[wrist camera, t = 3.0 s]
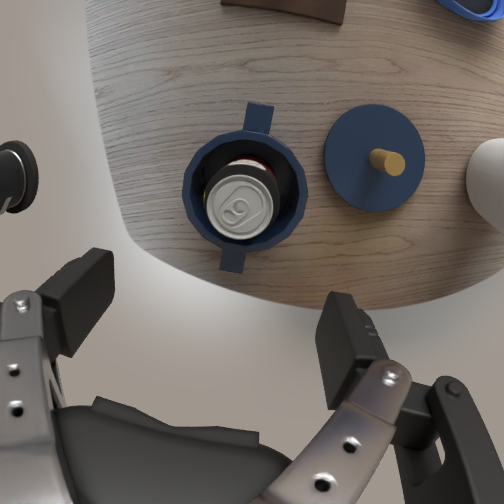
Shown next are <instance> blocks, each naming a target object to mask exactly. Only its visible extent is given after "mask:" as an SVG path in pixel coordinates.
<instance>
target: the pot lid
mask: <svg viewBox="0 0 504 504" xmlns="http://www.w3.org/2000/svg"><path fill="white" fill-rule="evenodd" d="M424 165H425V153H424V147H423V143H422V140H421V138H420V135H419V133H418V131H417V130H416V128H415V127H414V125H413V124H412V123H411V121H410V120H409V119H408V118H407V117H405V116H404V115H403V114H402V113H400V112H399V111H397V110H395V109H393V108H391V107H388V106H384V105H379V104H367V105H361V106H358V107H355V108H353V109H351V110H349V111H347V112H346V113H344V114H343V115H342V116H341V117H340V118H339V119H338V120H337V121H336V122H335V123H334V124H333V126H332V128H331V129H330V131H329V133H328V136H327V139H326V142H325V147H324V166H325V170H326V174H327V177H328V179H329V181H330V183H331V185H332V187H333V188H334V190H335V191H336V192H337V193H338V195H339V196H340V197H341V198H342V199H344V200H345V201H346V202H347V203H349V204H350V205H352V206H354V207H356V208H358V209H361V210H364V211H369V212H382V211H387V210H391V209H393V208H396V207H398V206H399V205H401V204H403V203H404V202H405V201H407V200H408V199H409V198H410V197H411V196H412V194H413V193H414V192H415V190H416V189H417V187H418V185H419V183H420V181H421V179H422V175H423V171H424Z"/></svg>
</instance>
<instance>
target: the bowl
mask: <svg viewBox="0 0 504 504" xmlns="http://www.w3.org/2000/svg"><path fill="white" fill-rule="evenodd" d="M437 1H438V2H440V3H441V4H442V5H444V6H445V7H446V8H448V9H449V10H451V11H453V12H454V13H456V14H458V15H460V16H462V17H464V18H467V19H470V20H475V21H497V20H499V19H501V18H503V17H504V0H437Z"/></svg>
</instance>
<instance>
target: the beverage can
mask: <svg viewBox="0 0 504 504" xmlns="http://www.w3.org/2000/svg"><path fill="white" fill-rule="evenodd" d="M279 208H280V196H279V191H278V186H277V181H276V176H275V173H274V171H273V169H272V167H271V166H270V165H269V164H268V163H267V162H266V161H265V160H264V159H262V158H260V157H258V156H254V155H241V156H237V157H235V158H233V159H231V160H230V161H229V162H228V163H227V164H226V165H224V166H223V167H222V168H221V169H220V170H219V171H218V172H217V173H216V174H215V175H214V176H213V177H212V178H211V180H210V181H209V183H208V185H207V187H206V189H205V193H204V209H205V212H206V215H207V217H208V219H209V221H210V222H211V224H212V225H213V226H214V228H215V229H216V230H217V231H219V232H220V233H221V234H223V235H225V236H227V237H229V238H233V239H248V238H252V237H255V236H257V235H260V234H261V233H263V232H264V231H266V230H267V229H268V228H269V227H270V226H271V225H272V224H273V222H274V221H275V219H276V217H277V215H278V212H279Z"/></svg>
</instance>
